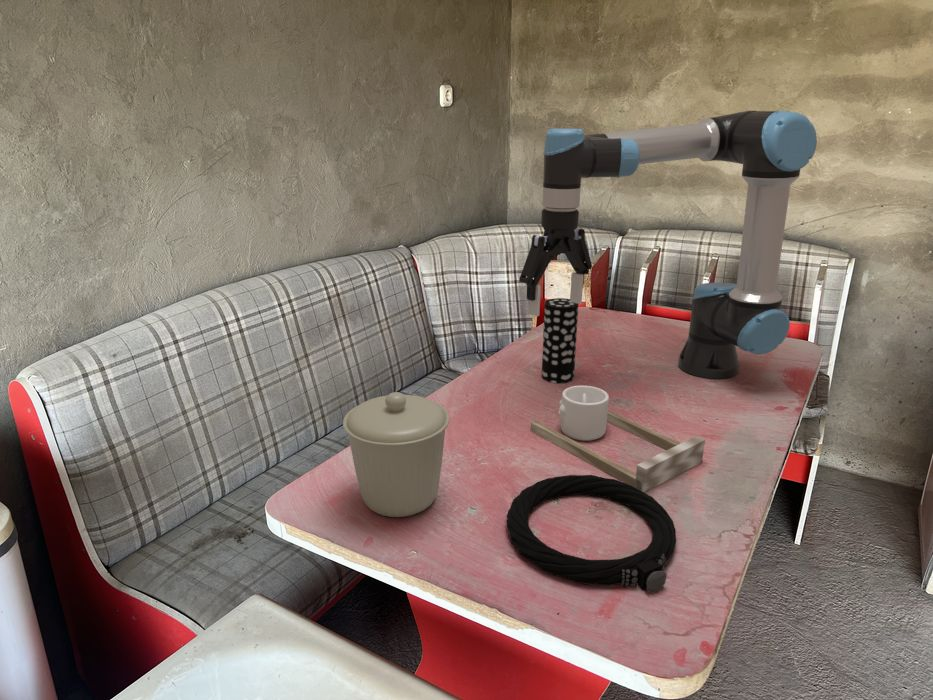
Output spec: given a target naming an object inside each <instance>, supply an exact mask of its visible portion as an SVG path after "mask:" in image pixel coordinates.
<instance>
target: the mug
mask: <svg viewBox="0 0 933 700" xmlns="http://www.w3.org/2000/svg"><path fill="white" fill-rule="evenodd" d="M609 398H610V397H609V393H607V391H606V390H603V389H602V388H599V387H596V386H592V385H591V386H590V385H574V386H573V385H572V386H569V387H567V388H565V389H564V390H563V391H562V394H561V399H560V400H559V402H558V403H559V409H558V412H557V413H558V416H559V420H560V429H561V432H562V434H563V435H564V436H566V437H568V438H570V439H572V440H577V441H582V442H583V441H584V442H587V441H588V442H589V441H594V440H598V439H600V438H602V437H603V436H604V435H605V433H606V432H607V425H608V422H607V413H608V410H609V400H610V399H609Z"/></svg>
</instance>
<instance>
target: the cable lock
mask: <svg viewBox="0 0 933 700" xmlns="http://www.w3.org/2000/svg"><path fill="white" fill-rule="evenodd" d="M572 495H573V496H574V495H589V496H592V497H593V496H594V497H603V498H608V499H611V500H613V501H614V502H618V503H621V504H624V505H627V506H628V507H630V508H631V509H632V510H634V511H635V512H636V513H638V514H639V515H640V516H642V517H643V518H644V519H645V520H646V521H647V522H648V523H649V525H650V527H651V530H652V538H651V541H650V543H649V544H648V546H647V547H646V548H645V549H642V550H640V551H638V552H636V553H633V554H632V555H627V556H625V557H622V558H616V559H615V558H614V559H587V558H582V557H578V556H575V555H570V554H566V553H563V552H561V551H558V549H557V550H556V549H554V548H552V547H550V546H548V545H546V543H544V542H543V541H542V540H540V538H539V537H537V536H536V535H535V534H534V532H533V531H532V529H531V527H530V524H529V517H530V514H531V513H532V512H533V509H535V508H536V507H537V506H540V504H542V503H543V502H546V501H548V500H551V499H554V498H558V497H561V496H562V497H563V496H572ZM506 527H507V531H508V535H509V538H510V541H511V543H512V545H514V546H513V547H515V548H516V549H517V550H518V552H519V555H522V556H523V557H524V558H526V559H528V561H530V562H531V563H532V564H534V565H536V566H537V567H538V568H540V569H541V570H542V571H544V572H546V573H549V574H551V575H552V576H555V577H561V578H563V579H566V580H569V581H572V582H575V583H578V584H583V585H584V584H585V585H589V584H590V585H591V584H592V585H601V586H602V585H603V586H611V585H618V584H619V585H620V587H625V588H628V587H629V586H630V587H632V588H633V587H635V586H636V585H637V586H638V587H639V588H640V589H641V591H645V590H646V592H648V593H650V594H651V593H656V592H659V591H660V590H661V589H662V588H663V587H664V586H665V584H666V581H667V573H666V572H665V571H664V568H665V566H666V564H667V563H668V561H669V560H670V558H671V557H672V555H673V554H674V550H675V547H676V544H677V534H676V533H677V531H676V527H675V524H674V520H673V519H672V518H671V516H670V515H669V513H668V512H667V510H666V509H665V508H664V506H663V505H661V503H659V502H658V501H657V500H656V499H655V498H654V497H653V496H651V495H649V494H648V493H647V492H645V493H644V492H642V491H640V490H639V489H637V488H635V487H633V486H631V485H628V484H626V483H624V482H622V481H621V480H619V479H616V478H606V477H603V476H598V475H593V474H585V475H583V474H582V475H581V474H580V475H579V474H578V475H577V474H567V475H560V476H554V477H548V478H545V479H542V480H539V481H537V482H534V484H532V485H530V486H527V487H526V488H524V489H522V490H521V491H520V493H519V494H518V495H517V496H516V497H514V498H513V499H512V502H511V504H510V507H509V509H508V511H507V514H506Z"/></svg>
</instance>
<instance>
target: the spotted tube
mask: <svg viewBox="0 0 933 700" xmlns="http://www.w3.org/2000/svg"><path fill="white" fill-rule="evenodd" d="M543 315H544V316H543V333H542V336H543V337H542V355H541V356H542V358H541V359H542V360H541V361H542V362H541V378H542V380H543V381H546V382H548V383H551V384H567V383H570V382H572V381H574V379H575V371H576V370H575V369H576V368H575V367H576V350H577V335H578V334H577V332H578V317H579V304H577V303H574V302H570V298H563V297H562V298H561V297H557V298H549V299H546V300H544V312H543Z"/></svg>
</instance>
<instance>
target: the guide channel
mask: <svg viewBox="0 0 933 700" xmlns="http://www.w3.org/2000/svg"><path fill="white" fill-rule="evenodd" d="M607 423H609V424H611V425H614V426H616V427H618V428H620V429H622V430H624V431H626V432H628V433H630V434H632V435H635V436H636V437H638V438H641V439H642V440H645V441H647V442H648V443H652V444H654V445H656V446H658V447H660V448H662V449H664V450H665V451H662V452H660V453H659V454H655V455H654V456H652V457H650V458H647V459H646V460H644V461H642V462H640V463H638V464H636V472H634V471H632V470H630V469H628V468H626V467H625V466H623V465H620V464H618V463H617V462H616V461H613V460H611V459H610V458H607V457H605V456H604V455H602V454H601V453H598V452H596V451H595V450H592V449H590V448H588V447H587V446H585V445H583V444H582V443H579V442H577V441H575V439H573V438H570V437H568V436H567V435H565V434H563V433H561V432H558V431H556V430H555V429H552V428H551V427H550V426H547V425H545V424H544V423H542V422H540V421H537V420H533V421H530V432H532V433H534V434H536V435H538V436H539V437H541V438H543V439H545V440H547V441H549V442H551V444H554V445H556V446H557V447H559V448H561V449H562V450H565V451H566V452H568V453H570V454H572V455H574V456H576V457H578V458H579V459H581V460H583V461H584V462H586V463H588V464H590V465H591V466H594V467H596V468H597V469H599V470H601V471H603V472H604V473H606V474H608V475H610V476H612V477H613V478H614V479H616V480H618V481H620V482H623V483H626V484H628V485H631V486H633V487H635V488H637V489H639V490H640V491H642V492H644V493H647V492H648V491H651V490H652V489H654V488H656V487H658V486H659V485H661V484H663V483H666V482H667V481H669V480H672V479H673V478H675V477H677V476H679V475H681V474H682V473H684V472H687V471H688V470H690V469H692V468H694V467H696V466H698V465H700V464H701V463H703V457H704V451H705V445H706V439H704V438H702V437H701V436H698V435H696V436H694V437H691V438H689V439H687V440H685V441H683V442H679V441H677V440H675V439H673V438H671V437H669V436H667V435H665V434H662V433H660V432H658V431H656V430H653V429H652V428H649V427H647V426H645V425H642V424H640V423H638V422H636V421H633V420H632V419H629V418H627V417H624V416H623V415H622V414H621V415H620V414H618V413H617V412H614V411H612V410H610V409H608V413H607Z"/></svg>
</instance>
